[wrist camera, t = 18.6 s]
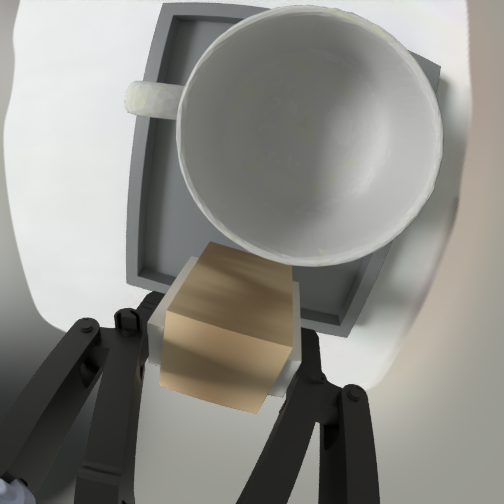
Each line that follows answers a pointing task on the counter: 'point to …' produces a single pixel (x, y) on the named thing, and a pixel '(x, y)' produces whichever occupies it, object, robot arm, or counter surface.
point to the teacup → (304, 134)
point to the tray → (184, 206)
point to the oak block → (229, 329)
